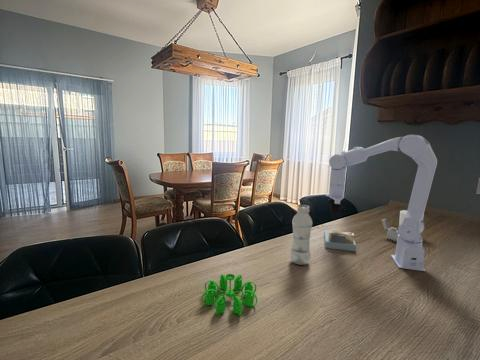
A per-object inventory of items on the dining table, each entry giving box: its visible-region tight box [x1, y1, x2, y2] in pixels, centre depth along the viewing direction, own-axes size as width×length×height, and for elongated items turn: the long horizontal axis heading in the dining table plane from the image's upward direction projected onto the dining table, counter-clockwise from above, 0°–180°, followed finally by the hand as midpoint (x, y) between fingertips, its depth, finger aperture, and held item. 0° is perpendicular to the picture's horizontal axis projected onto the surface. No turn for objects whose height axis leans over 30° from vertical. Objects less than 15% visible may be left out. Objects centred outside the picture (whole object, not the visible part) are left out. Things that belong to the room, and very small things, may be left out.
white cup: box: [398, 209, 408, 227], centre depth 119 cm, size 8×8×10 cm
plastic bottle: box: [289, 204, 313, 266], centre depth 88 cm, size 6×7×20 cm
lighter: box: [381, 218, 399, 242], centre depth 113 cm, size 7×2×8 cm, turn 31°
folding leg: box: [328, 230, 355, 243], centre depth 103 cm, size 9×2×3 cm, turn 77°
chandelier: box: [201, 273, 258, 317], centre depth 68 cm, size 15×15×7 cm
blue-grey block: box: [323, 229, 357, 252], centre depth 107 cm, size 13×11×6 cm
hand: (334, 216), depth 107 cm, fingers closed
